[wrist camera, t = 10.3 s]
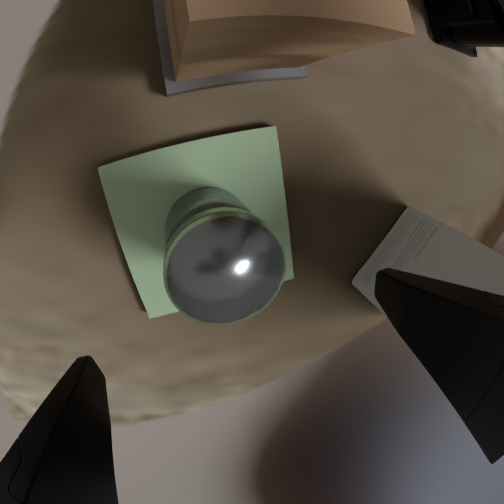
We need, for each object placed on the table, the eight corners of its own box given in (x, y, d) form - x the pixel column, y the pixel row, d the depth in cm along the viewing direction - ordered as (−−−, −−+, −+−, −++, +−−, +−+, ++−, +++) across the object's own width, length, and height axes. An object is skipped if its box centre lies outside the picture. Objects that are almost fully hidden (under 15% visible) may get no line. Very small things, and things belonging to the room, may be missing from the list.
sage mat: (272, 125, 14) (275, 126, 14) (290, 273, 18) (293, 278, 18) (100, 166, 12) (97, 167, 12) (150, 312, 17) (149, 318, 16)
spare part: (243, 175, 14) (279, 200, 10) (256, 256, 16) (291, 306, 12) (152, 197, 13) (146, 233, 9) (176, 278, 16) (183, 337, 11)
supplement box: (346, 282, 20) (471, 406, 9) (407, 202, 19) (554, 282, 8) (389, 316, 23) (482, 411, 12) (438, 252, 22) (544, 325, 11)
